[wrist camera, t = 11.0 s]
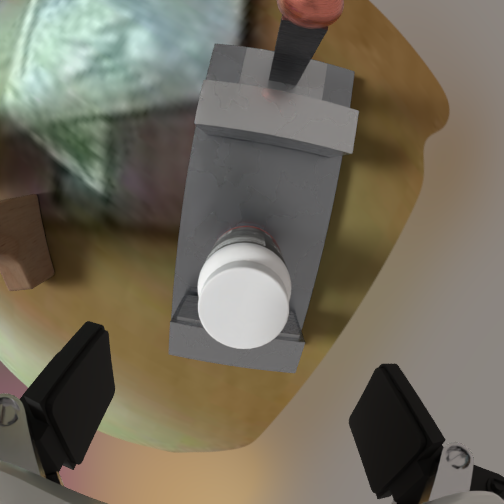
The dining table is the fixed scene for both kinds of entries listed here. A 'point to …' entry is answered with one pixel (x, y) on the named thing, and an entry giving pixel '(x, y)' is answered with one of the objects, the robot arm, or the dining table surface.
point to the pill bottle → (244, 289)
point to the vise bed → (253, 220)
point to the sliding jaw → (283, 90)
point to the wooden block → (23, 244)
